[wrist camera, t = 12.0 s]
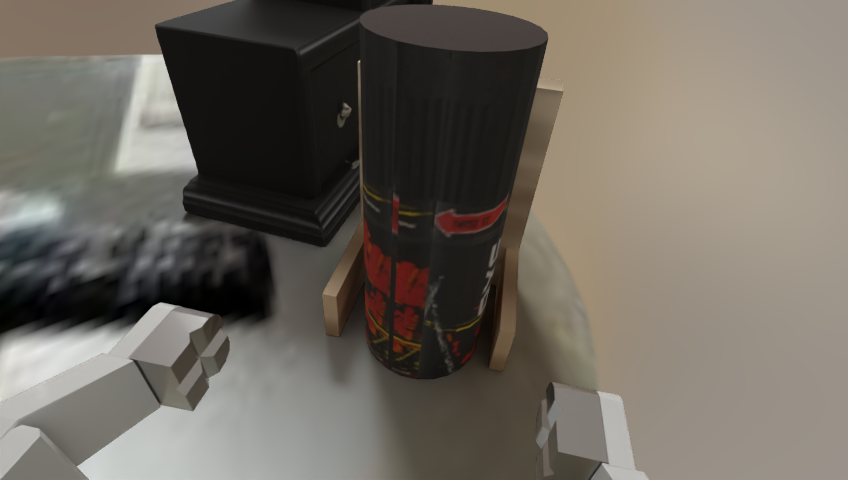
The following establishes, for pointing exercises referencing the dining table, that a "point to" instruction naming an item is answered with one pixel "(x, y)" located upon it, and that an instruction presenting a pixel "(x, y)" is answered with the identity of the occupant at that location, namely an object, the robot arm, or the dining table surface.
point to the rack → (505, 273)
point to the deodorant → (438, 172)
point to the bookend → (271, 111)
